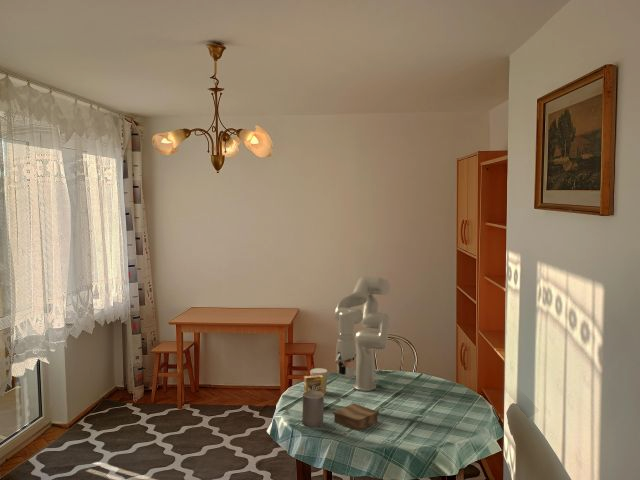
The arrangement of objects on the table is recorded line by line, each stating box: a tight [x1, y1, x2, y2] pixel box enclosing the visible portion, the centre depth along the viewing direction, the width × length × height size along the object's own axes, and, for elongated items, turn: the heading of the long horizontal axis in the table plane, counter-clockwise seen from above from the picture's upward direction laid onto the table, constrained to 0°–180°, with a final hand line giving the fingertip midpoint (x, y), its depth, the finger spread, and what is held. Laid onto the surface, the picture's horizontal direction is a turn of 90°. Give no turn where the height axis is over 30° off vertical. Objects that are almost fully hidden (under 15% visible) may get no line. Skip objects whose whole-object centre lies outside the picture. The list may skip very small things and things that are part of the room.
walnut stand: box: [332, 403, 380, 432], centre depth 268 cm, size 15×15×5 cm
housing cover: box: [341, 359, 355, 367], centre depth 285 cm, size 4×7×2 cm, turn 48°
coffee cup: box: [309, 367, 329, 395], centre depth 308 cm, size 9×9×12 cm
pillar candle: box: [301, 391, 325, 428], centre depth 265 cm, size 10×10×15 cm
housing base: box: [336, 363, 355, 378], centre depth 286 cm, size 5×7×5 cm
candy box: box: [303, 375, 323, 393], centre depth 287 cm, size 9×4×15 cm, turn 107°
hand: (345, 372), depth 286 cm, fingers closed on housing base, 5 cm apart
